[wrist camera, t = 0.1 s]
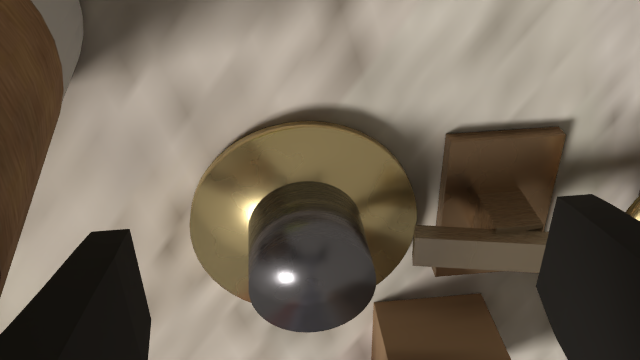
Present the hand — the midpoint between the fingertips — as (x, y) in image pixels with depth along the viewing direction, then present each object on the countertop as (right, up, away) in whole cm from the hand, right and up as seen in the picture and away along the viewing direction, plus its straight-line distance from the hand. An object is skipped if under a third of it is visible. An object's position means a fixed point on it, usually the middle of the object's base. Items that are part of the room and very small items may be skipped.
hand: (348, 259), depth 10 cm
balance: (+6, +1, +12) cm, 14 cm away
